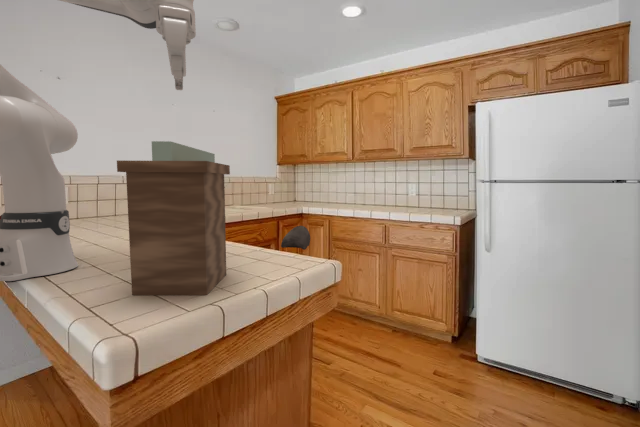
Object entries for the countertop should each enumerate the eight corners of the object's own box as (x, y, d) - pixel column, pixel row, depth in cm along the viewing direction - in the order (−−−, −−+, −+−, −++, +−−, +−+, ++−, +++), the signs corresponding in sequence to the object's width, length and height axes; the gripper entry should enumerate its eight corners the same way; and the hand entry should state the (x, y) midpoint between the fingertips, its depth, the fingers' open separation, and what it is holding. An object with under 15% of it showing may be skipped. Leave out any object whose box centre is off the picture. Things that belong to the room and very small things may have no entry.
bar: (171, 160, 60) (170, 141, 59) (152, 160, 60) (151, 141, 59) (214, 167, 86) (214, 153, 85) (201, 167, 86) (201, 153, 85)
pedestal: (210, 296, 62) (206, 160, 60) (123, 296, 62) (116, 160, 60) (231, 273, 78) (229, 165, 76) (162, 273, 78) (158, 165, 76)
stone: (287, 262, 105) (309, 242, 103) (272, 241, 108) (293, 221, 105) (301, 260, 114) (321, 241, 112) (287, 241, 117) (306, 222, 114)
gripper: (164, 40, 89) (167, 93, 91) (158, 2, 70) (161, 70, 72) (190, 44, 92) (192, 95, 93) (190, 7, 73) (192, 73, 74)
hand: (178, 84), depth 82 cm, fingers open, 8 cm apart
